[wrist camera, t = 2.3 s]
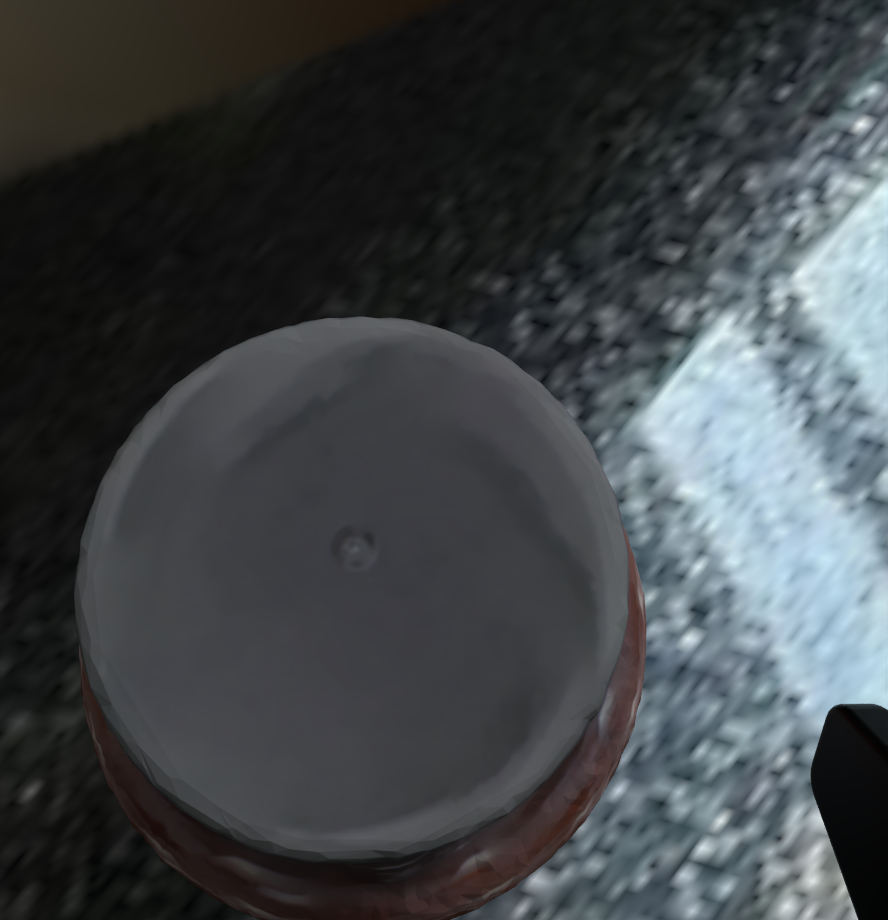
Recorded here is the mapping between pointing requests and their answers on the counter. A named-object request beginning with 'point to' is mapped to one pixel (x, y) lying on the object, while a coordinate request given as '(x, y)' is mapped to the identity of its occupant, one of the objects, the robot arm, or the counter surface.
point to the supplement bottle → (358, 624)
